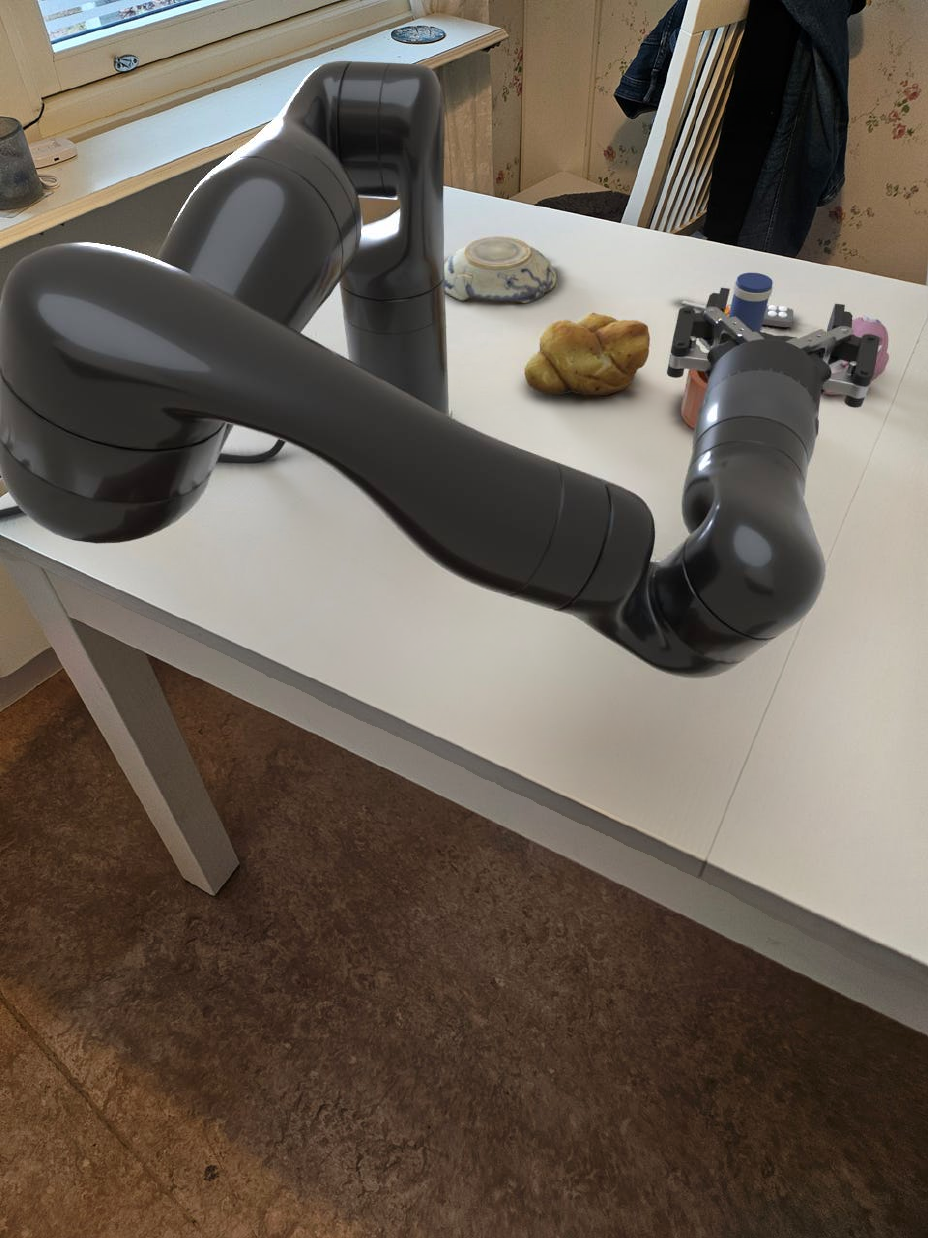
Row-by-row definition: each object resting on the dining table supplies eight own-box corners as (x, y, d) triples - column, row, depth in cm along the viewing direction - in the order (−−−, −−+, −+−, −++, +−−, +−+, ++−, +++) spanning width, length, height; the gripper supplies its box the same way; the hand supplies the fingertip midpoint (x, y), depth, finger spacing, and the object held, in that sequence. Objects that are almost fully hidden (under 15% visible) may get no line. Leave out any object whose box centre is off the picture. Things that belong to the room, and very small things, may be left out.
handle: (710, 420, 89) (740, 289, 78) (703, 401, 91) (732, 271, 81) (743, 419, 89) (778, 288, 78) (735, 400, 91) (768, 271, 81)
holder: (689, 439, 88) (698, 397, 84) (674, 393, 93) (682, 351, 90) (772, 437, 88) (785, 395, 84) (752, 391, 93) (763, 349, 90)
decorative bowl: (414, 278, 112) (495, 319, 104) (413, 249, 109) (496, 289, 101) (498, 243, 119) (580, 279, 111) (499, 215, 116) (582, 250, 108)
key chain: (791, 315, 104) (794, 303, 103) (791, 330, 102) (794, 319, 100) (681, 303, 106) (683, 291, 105) (679, 318, 104) (681, 306, 103)
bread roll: (529, 410, 91) (533, 341, 85) (515, 361, 98) (517, 293, 92) (649, 400, 92) (660, 331, 86) (626, 352, 99) (636, 285, 93)
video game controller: (851, 412, 93) (903, 363, 88) (817, 392, 92) (867, 341, 87) (843, 363, 99) (891, 315, 94) (811, 343, 99) (858, 293, 93)
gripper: (641, 449, 62) (679, 336, 72) (851, 489, 58) (859, 364, 69) (657, 354, 56) (695, 246, 66) (890, 392, 53) (893, 272, 63)
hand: (779, 306), depth 68 cm, fingers open, 8 cm apart
